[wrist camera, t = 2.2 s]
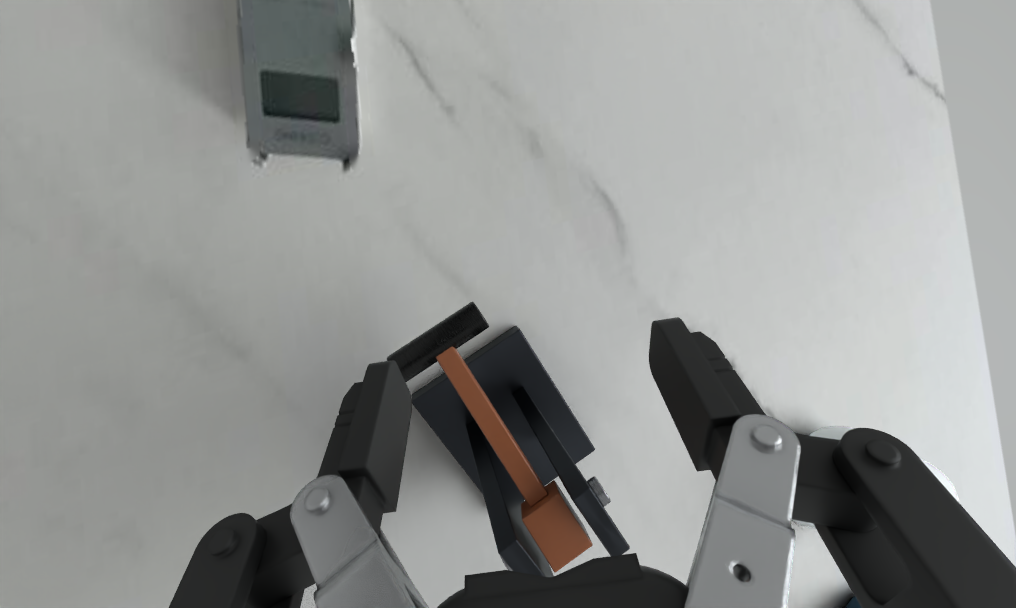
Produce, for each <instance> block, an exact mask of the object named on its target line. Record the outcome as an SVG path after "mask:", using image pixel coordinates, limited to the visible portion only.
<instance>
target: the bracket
mask: <svg viewBox="0 0 1016 608" xmlns="http://www.w3.org/2000/svg"><path fill="white" fill-rule="evenodd" d="M464 362H465V363H466V365H467V366H468V368H469V369H470V371H471V372H472V374H473V376H474V377H475V379H476V380H477V382H478V383H479V385H480V386H481V388H482V390H483V391H484V393H485V394H486V396H487V397H488V399H489V400H490V402H491V404H492V405H493V407H494V408H495V410H496V411H497V413H498V414H499V416H500V418H501V419H502V421H503V422H504V424H505V425H506V427H507V428H508V430H509V432H510V433H511V435H512V436H513V438H514V439H515V441H516V442H517V444H518V446H519V447H520V449H521V450H522V452H523V453H524V455H525V456H526V458H527V460H528V461H529V463H530V464H531V466H532V467H533V469H534V470H535V472H536V474H537V475H538V477H539V478H540V480H541V481H542V483H543V484H544V486H545V485H546V484H548V483H549V482H551V481H552V480H553V479H555V478H556V477H558V476H559V478H560V479H561V481H562V483H563V485H564V486H565V488H566V490H567V492H568V493H569V495H570V497H571V499H572V500H573V502H574V503H575V505H576V506H577V508H578V509H579V511H580V512H581V513H582V515H583V516H584V518H585V519H586V521H587V522H588V524H589V525H590V527H591V528H592V529H593V531H594V532H595V534H596V535H597V537H598V538H599V540H600V541H601V543H602V544H603V545H604V547H605V548H606V550H607V551H608V553H609V554H610V556H618V555H622V554H623V553H625V552H626V551H627V550H629V549H630V548H629V545H628V544H627V542H626V540H625V539H624V537H623V536H622V534H621V533H620V531H619V530H618V528H617V527H616V525H615V524H614V522H613V521H612V519H611V518H610V516H609V515H608V513H607V512H606V510H605V509H604V506H606V505H607V504H609V503H610V502H611V500H610V498H609V496H608V495H607V493H606V492H605V490H604V489H603V487H602V486H601V484H600V483H599V482H598V480H597V479H596V477H592V478H591V479H589V480H588V481H586V480H585V478H584V477H583V475H582V474H581V472H580V471H579V469H578V468H577V466H576V465H575V464H576V463H577V462H579V461H580V460H582V459H583V458H584V457H586V456H587V455H589V454H590V453H591V452H593V451H594V450H595V448H594V446H593V445H592V443H591V442H590V440H589V438H588V437H587V435H586V434H585V432H584V431H583V429H582V427H581V426H580V424H579V423H578V421H577V419H576V418H575V416H574V415H573V413H572V411H571V410H570V408H569V407H568V405H567V403H566V402H565V400H564V399H563V397H562V396H561V394H560V392H559V391H558V389H557V388H556V386H555V384H554V383H553V381H552V380H551V378H550V376H549V375H548V373H547V372H546V370H545V368H544V367H543V365H542V364H541V362H540V361H539V359H538V357H537V356H536V354H535V353H534V351H533V349H532V348H531V346H530V345H529V343H528V341H527V340H526V338H525V337H524V335H523V333H522V332H521V330H520V329H519V328H518V327H517V326H514V327H513V328H511V329H510V330H508V331H507V332H505V333H504V334H502V335H501V336H499V337H498V338H496V339H495V340H493V341H492V342H490V343H489V344H487V345H486V346H484V347H483V348H481V349H480V350H478V351H477V352H475V353H474V354H472V355H471V356H469V357H468V358H466V359H465V360H464ZM412 404H413V405H414V406H415V407H416V409H417V410H418V411H419V413H420V414H421V415H422V416H423V418H424V419H425V420H426V422H427V423H428V424H429V425H430V427H431V428H432V429H433V431H434V432H435V433H436V434H437V436H438V437H439V438H440V440H441V441H442V442H443V443H444V445H445V446H446V447H447V449H448V450H449V451H450V452H451V454H452V455H453V456H454V458H455V459H456V460H457V461H458V463H459V464H460V465H461V467H462V468H463V469H464V470H465V472H466V473H467V474H468V476H469V477H470V478H471V479H472V481H473V482H474V483H475V485H476V486H477V487H478V488H479V490H480V491H481V492H482V494H483V495H484V499H485V502H486V506H487V510H488V514H489V518H490V522H491V526H492V530H493V533H494V537H495V541H496V545H497V549H498V553H499V554H500V556H501V559H502V561H503V563H504V564H505V566H506V567H507V569H508V570H509V571H515V572H520V573H526V574H532V575H538V576H544V577H554V576H553V573H552V571H551V568H550V566H549V563H548V561H547V560H546V558H545V556H544V555H543V553H542V552H541V550H540V548H539V547H538V545H537V544H536V542H535V540H534V539H533V537H532V536H531V534H530V532H529V531H528V529H527V528H526V526H525V524H524V523H523V521H522V513H521V503H523V502H524V500H525V499H524V497H523V495H522V494H521V492H520V491H519V489H518V487H517V486H516V484H515V483H514V481H513V480H512V478H511V476H510V475H509V473H508V472H507V470H506V468H505V467H504V465H503V464H502V462H501V461H500V459H499V457H498V456H497V454H496V453H495V451H494V449H493V448H492V446H491V445H490V443H489V442H488V440H487V438H486V437H485V435H484V434H483V432H482V430H481V429H480V427H479V426H478V424H477V423H476V421H475V419H474V418H473V416H472V415H471V413H470V411H469V410H468V408H467V407H466V405H465V404H464V402H463V400H462V399H461V397H460V396H459V394H458V392H457V391H456V389H455V388H454V386H453V385H452V383H451V381H450V380H449V378H448V377H447V375H446V373H444V374H442V375H441V376H439V377H438V378H436V379H435V380H433V381H432V382H430V383H429V384H427V385H426V386H424V387H423V388H421V389H420V390H418V391H417V392H415V393H414V394H412Z"/></svg>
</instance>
